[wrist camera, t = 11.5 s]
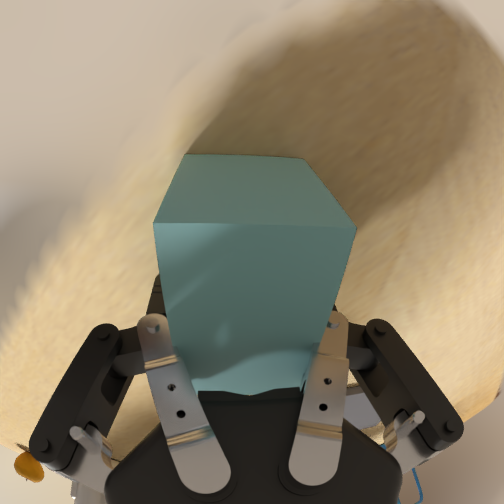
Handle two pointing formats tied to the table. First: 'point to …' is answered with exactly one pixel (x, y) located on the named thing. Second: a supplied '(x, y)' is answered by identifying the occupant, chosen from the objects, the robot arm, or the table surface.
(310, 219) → the teal blank
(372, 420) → the felt mat
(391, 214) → the table surface
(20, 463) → the apple
